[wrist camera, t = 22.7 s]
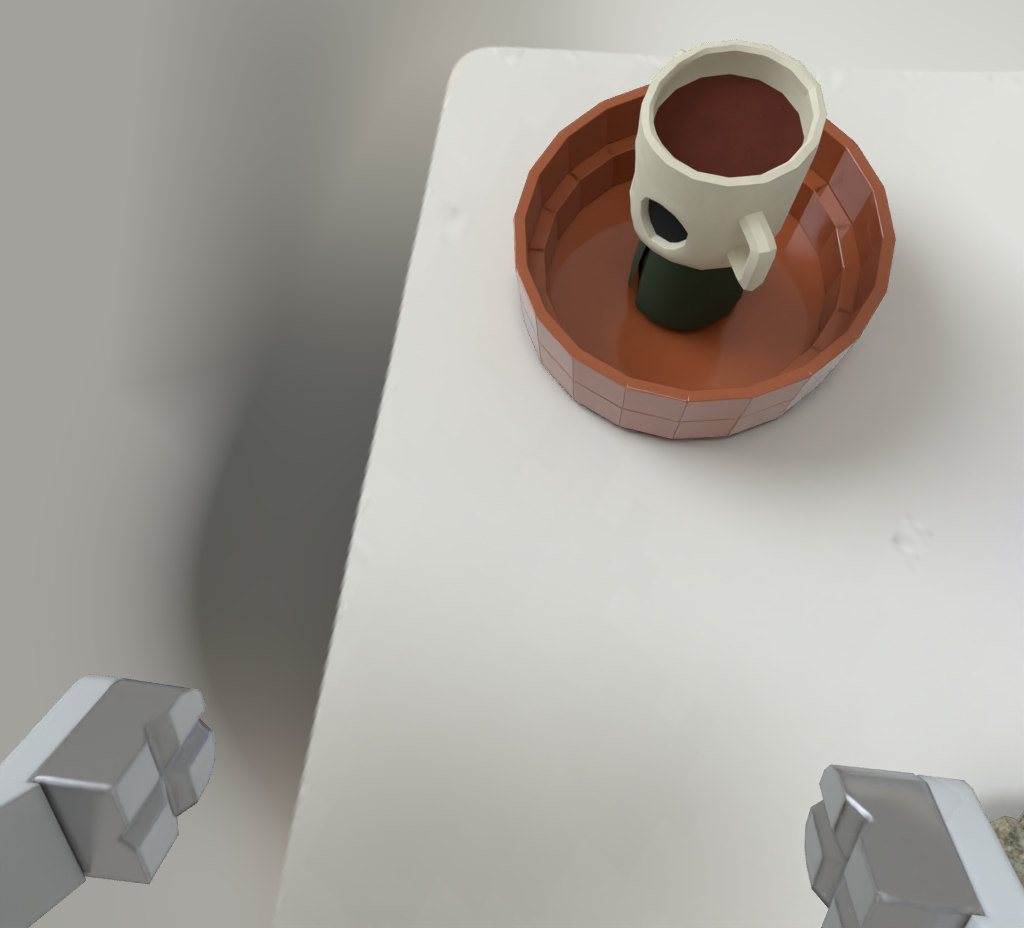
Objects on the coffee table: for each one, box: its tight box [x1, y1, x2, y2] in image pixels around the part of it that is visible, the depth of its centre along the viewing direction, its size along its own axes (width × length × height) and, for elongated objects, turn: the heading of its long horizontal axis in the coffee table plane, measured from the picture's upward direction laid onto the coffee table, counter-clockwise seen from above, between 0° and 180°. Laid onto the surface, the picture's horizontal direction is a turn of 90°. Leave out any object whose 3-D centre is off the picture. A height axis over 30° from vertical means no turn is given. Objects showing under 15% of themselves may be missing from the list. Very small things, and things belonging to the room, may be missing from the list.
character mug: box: [628, 39, 827, 331], centre depth 33 cm, size 11×7×13 cm, turn 15°
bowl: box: [514, 84, 896, 439], centre depth 37 cm, size 18×18×6 cm
